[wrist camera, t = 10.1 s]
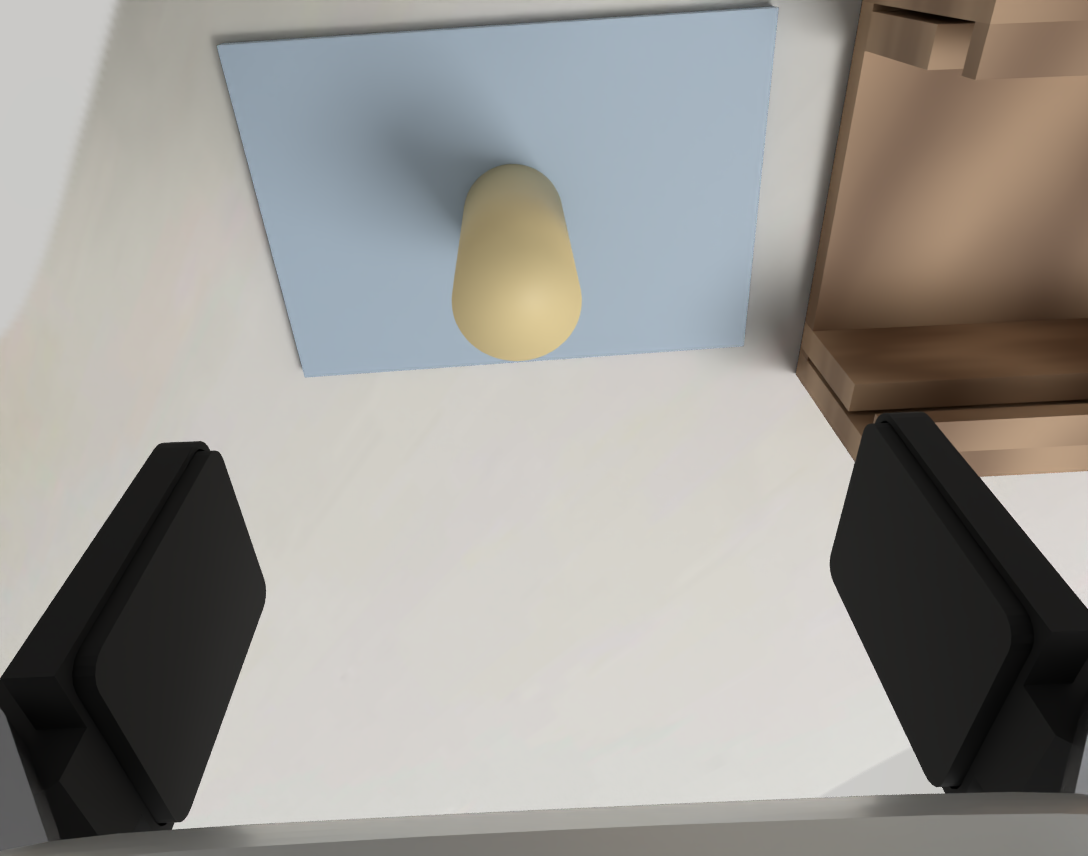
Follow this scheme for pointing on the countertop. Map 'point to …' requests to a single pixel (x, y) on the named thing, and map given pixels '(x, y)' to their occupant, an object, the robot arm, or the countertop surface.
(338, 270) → the lid
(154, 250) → the countertop surface
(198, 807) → the countertop surface
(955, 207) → the brown wooden open box
